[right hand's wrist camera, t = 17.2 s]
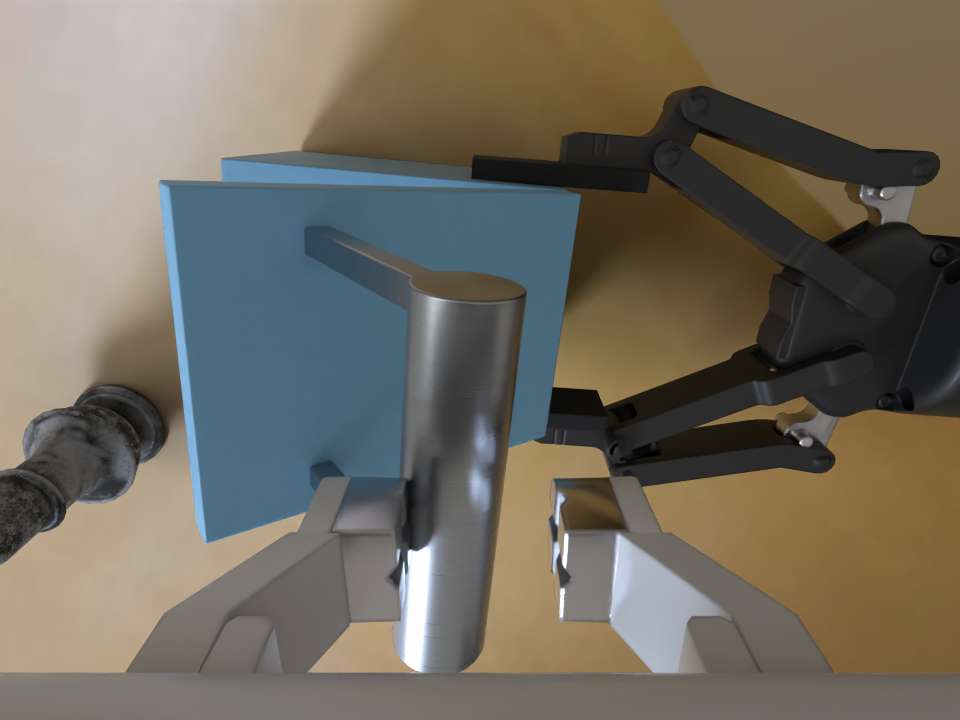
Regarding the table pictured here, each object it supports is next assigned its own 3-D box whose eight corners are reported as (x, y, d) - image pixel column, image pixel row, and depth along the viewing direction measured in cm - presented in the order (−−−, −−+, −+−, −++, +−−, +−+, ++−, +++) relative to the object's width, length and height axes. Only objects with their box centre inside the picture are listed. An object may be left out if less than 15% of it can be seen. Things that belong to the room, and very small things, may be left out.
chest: (301, 330, 31) (237, 401, 23) (296, 150, 28) (220, 158, 20) (520, 348, 32) (536, 424, 24) (542, 173, 28) (569, 190, 20)
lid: (196, 524, 16) (310, 789, 10) (157, 179, 13) (295, 264, 7) (529, 425, 23) (712, 544, 17) (561, 190, 20) (802, 234, 14)
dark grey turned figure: (72, 367, 33) (-145, 492, 21) (176, 399, 33) (18, 536, 22) (64, 451, 35) (-137, 605, 24) (162, 480, 35) (12, 642, 24)
